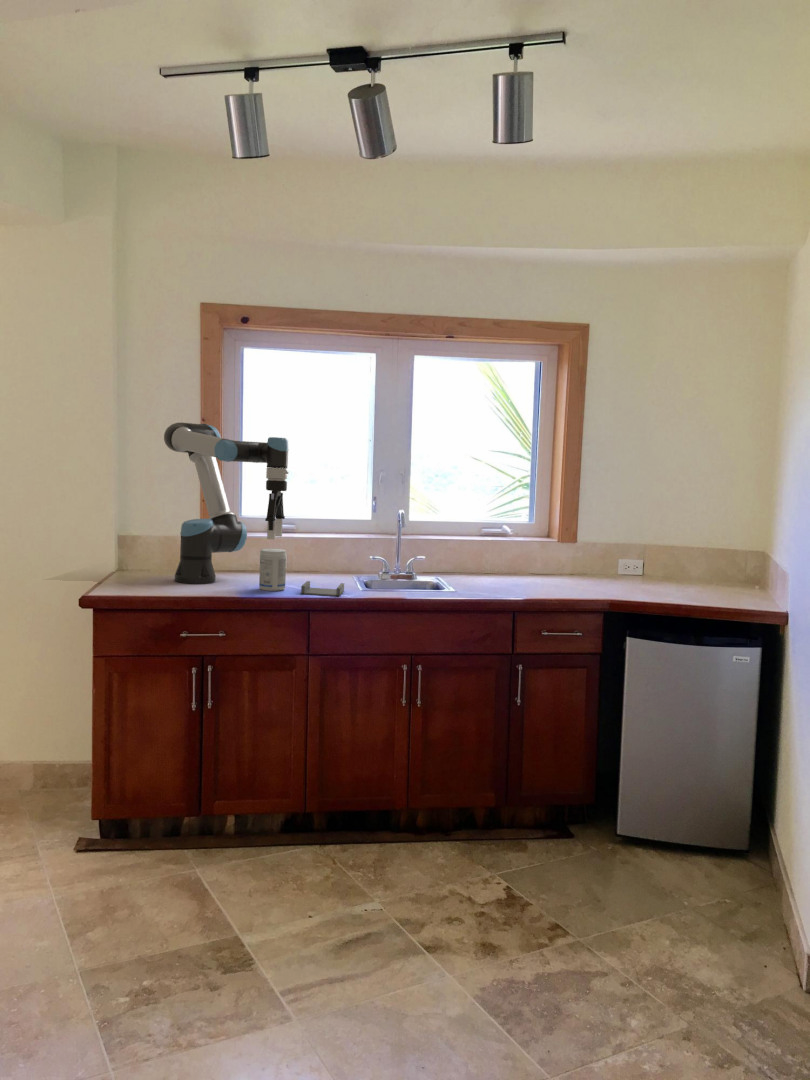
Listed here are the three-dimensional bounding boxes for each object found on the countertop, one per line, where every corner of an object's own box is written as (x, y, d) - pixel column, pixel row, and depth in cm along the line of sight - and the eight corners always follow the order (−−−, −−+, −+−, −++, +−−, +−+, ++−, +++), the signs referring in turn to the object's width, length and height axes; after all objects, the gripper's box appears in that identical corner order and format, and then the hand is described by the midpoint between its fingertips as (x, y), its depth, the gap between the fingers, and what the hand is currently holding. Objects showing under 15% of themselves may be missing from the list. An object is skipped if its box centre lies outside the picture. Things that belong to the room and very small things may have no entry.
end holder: (301, 594, 324) (301, 585, 324) (306, 588, 337) (307, 581, 337) (339, 596, 324) (340, 588, 323) (343, 591, 337) (344, 583, 336)
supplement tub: (280, 587, 338) (282, 548, 337) (288, 591, 330) (290, 551, 328) (255, 587, 334) (257, 548, 333) (263, 591, 326) (264, 551, 324)
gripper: (280, 481, 315) (278, 541, 317) (292, 479, 340) (290, 535, 342) (259, 479, 316) (257, 540, 318) (273, 478, 341) (271, 534, 342)
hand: (274, 537), depth 330 cm, fingers open, 13 cm apart
